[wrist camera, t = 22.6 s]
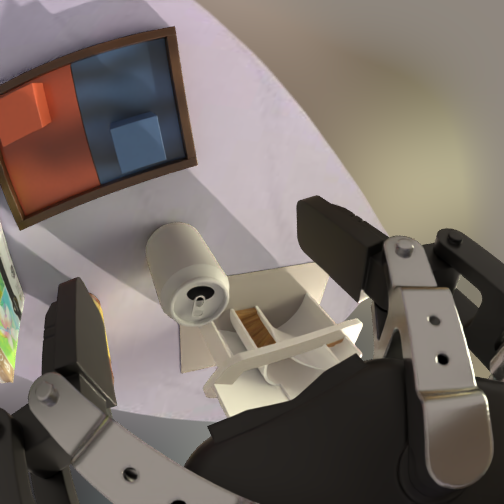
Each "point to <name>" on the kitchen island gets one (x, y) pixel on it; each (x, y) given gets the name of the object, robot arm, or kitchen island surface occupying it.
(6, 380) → the tea box
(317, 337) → the architectural model
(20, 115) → the terracotta block
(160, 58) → the sorting tray
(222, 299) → the can
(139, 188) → the kitchen island surface
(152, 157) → the slate-blue block
